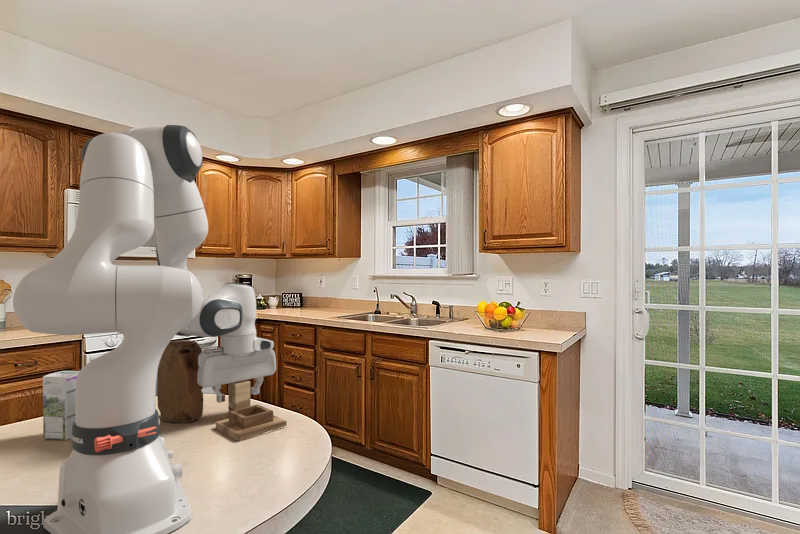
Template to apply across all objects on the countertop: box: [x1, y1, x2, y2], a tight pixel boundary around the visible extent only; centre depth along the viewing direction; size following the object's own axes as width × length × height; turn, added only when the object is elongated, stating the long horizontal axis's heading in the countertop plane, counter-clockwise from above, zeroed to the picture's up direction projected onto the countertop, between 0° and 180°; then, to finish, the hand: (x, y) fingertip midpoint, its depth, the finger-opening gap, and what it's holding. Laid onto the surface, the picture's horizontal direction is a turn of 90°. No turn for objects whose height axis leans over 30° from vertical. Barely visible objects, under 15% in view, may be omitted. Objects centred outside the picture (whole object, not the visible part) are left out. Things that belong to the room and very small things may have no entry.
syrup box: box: [42, 370, 80, 441], centre depth 102 cm, size 6×6×14 cm
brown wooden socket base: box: [215, 404, 288, 442], centre depth 106 cm, size 12×12×4 cm
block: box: [156, 339, 204, 424], centre depth 113 cm, size 11×8×20 cm
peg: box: [227, 380, 251, 412], centre depth 115 cm, size 4×4×9 cm
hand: (238, 397), depth 115 cm, fingers open, 8 cm apart
